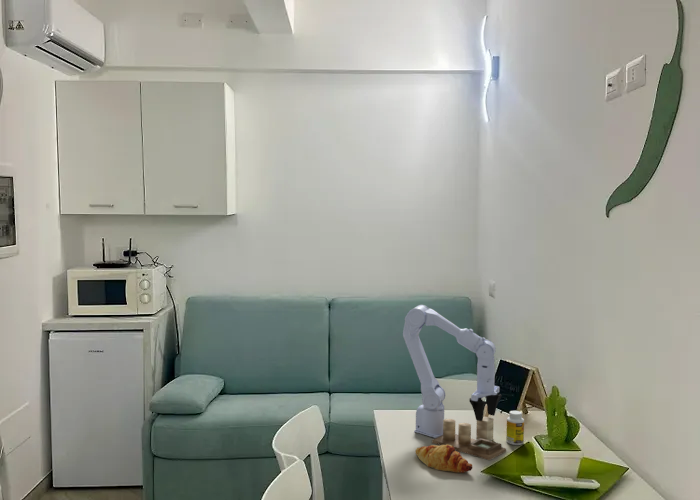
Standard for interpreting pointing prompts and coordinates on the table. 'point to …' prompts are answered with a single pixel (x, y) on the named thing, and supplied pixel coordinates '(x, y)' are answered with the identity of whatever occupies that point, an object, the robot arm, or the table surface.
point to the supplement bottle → (515, 428)
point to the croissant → (443, 458)
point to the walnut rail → (465, 447)
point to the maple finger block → (485, 429)
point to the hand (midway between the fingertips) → (485, 417)
